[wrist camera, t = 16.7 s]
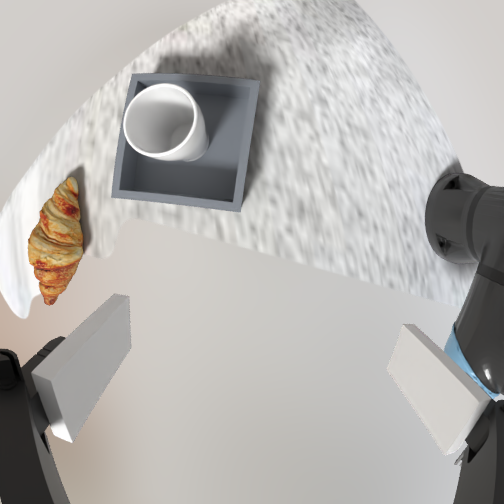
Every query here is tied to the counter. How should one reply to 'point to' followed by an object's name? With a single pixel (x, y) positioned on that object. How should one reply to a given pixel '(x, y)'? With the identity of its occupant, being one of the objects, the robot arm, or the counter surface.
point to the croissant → (57, 241)
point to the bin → (206, 167)
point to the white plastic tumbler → (166, 124)
